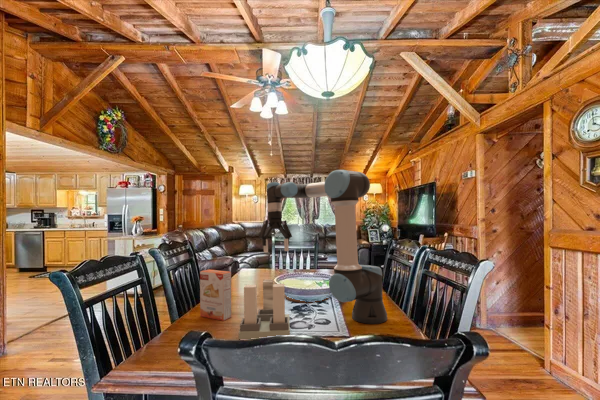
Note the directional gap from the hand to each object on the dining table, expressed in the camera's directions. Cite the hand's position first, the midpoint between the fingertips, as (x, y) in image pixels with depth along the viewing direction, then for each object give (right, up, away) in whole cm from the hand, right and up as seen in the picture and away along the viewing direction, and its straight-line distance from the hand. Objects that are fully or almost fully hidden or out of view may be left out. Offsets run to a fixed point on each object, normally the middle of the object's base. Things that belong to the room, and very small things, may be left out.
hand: (276, 251), depth 165 cm
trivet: (+16, -27, +10) cm, 33 cm away
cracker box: (-26, -26, -22) cm, 43 cm away
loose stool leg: (-2, -26, -21) cm, 33 cm away
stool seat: (-1, -25, -38) cm, 46 cm away
